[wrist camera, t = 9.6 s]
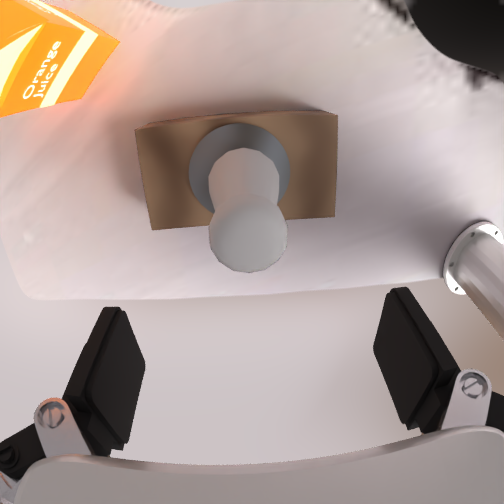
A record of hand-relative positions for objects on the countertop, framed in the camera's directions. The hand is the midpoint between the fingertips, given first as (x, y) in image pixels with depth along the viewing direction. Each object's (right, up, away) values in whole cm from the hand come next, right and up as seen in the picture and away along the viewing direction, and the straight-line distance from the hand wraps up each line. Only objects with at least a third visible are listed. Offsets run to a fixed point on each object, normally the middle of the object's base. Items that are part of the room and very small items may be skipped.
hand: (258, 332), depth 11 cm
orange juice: (-19, +24, +14) cm, 34 cm away
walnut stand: (-2, +12, +21) cm, 25 cm away
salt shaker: (-1, +10, +17) cm, 20 cm away
